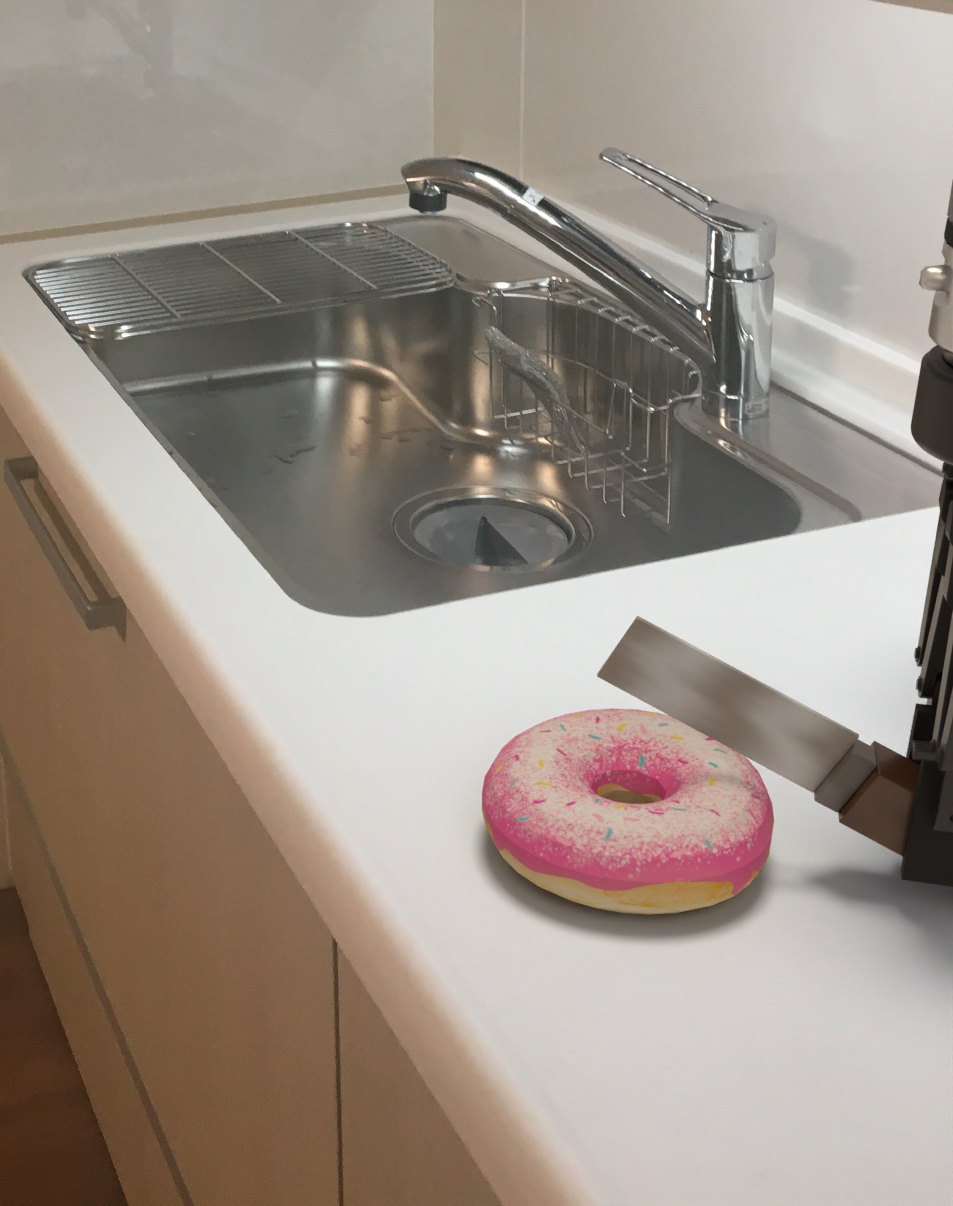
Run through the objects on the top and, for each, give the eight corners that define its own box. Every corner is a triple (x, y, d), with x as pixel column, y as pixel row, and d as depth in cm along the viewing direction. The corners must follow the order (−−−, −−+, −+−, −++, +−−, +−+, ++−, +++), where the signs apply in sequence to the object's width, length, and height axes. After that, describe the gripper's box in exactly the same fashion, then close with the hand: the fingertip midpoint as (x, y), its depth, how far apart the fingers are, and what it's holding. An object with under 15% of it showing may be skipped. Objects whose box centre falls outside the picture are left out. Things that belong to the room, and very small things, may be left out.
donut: (521, 950, 72) (527, 856, 70) (449, 787, 84) (452, 702, 82) (817, 923, 73) (833, 830, 71) (704, 766, 85) (714, 681, 83)
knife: (991, 871, 75) (1041, 818, 74) (1000, 910, 73) (1053, 855, 71) (599, 660, 76) (639, 602, 75) (594, 690, 74) (635, 631, 72)
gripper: (906, 294, 72) (832, 754, 82) (946, 418, 58) (851, 952, 68) (1096, 302, 70) (996, 773, 80) (1185, 432, 56) (1050, 980, 66)
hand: (929, 854), depth 74 cm, fingers closed on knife, 3 cm apart
